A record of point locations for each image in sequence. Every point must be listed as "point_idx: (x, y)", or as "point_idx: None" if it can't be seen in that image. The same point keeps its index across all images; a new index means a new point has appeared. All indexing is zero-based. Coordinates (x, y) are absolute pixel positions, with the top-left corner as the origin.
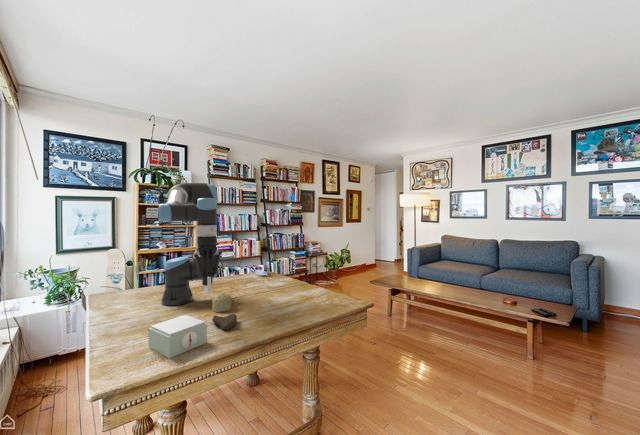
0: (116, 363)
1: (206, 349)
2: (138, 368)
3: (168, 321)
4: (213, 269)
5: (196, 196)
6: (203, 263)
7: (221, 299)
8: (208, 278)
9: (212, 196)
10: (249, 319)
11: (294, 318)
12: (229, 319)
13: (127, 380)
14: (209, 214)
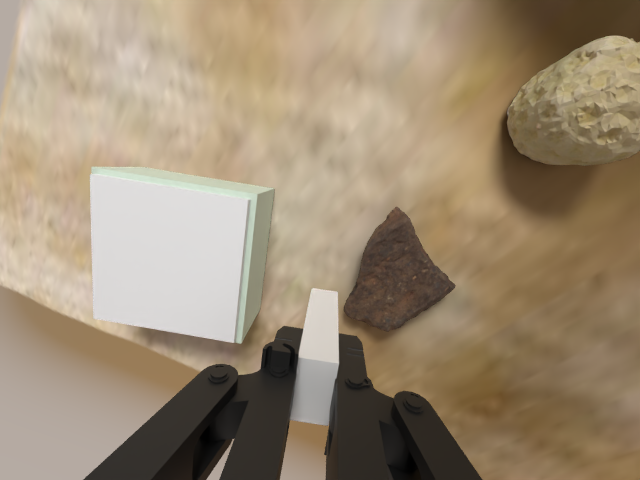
0: (45, 176)
1: None
2: (71, 259)
3: (158, 201)
4: (433, 451)
5: None
6: None
7: (570, 135)
8: (296, 413)
9: None
10: (480, 313)
11: (541, 451)
12: (393, 305)
13: (34, 286)
14: None
